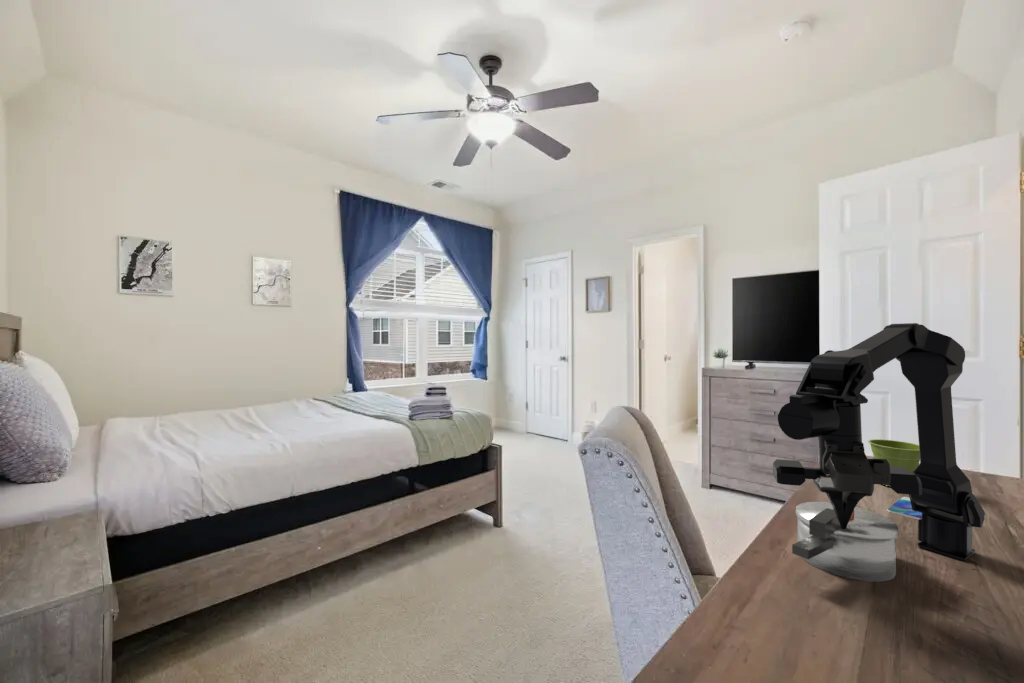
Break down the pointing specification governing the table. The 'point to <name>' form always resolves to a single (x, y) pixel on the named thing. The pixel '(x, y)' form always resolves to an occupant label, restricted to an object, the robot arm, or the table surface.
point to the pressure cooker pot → (847, 555)
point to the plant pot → (896, 453)
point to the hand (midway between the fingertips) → (843, 528)
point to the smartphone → (904, 508)
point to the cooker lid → (858, 527)
